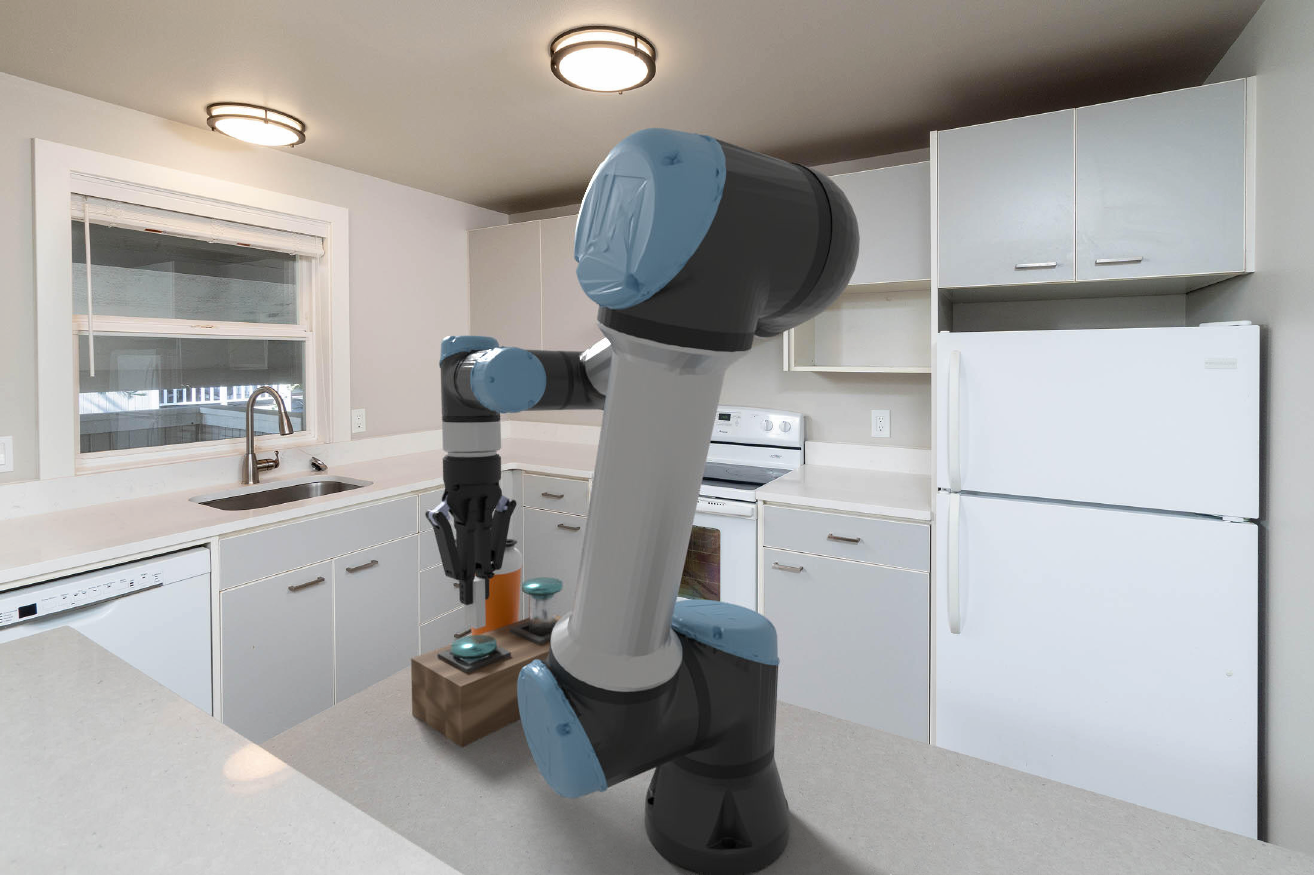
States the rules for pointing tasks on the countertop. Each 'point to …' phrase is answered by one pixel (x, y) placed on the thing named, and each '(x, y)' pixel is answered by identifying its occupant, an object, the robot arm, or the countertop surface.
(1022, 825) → the countertop surface
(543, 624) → the peg right
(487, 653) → the peg left
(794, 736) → the countertop surface
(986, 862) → the countertop surface
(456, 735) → the socket block
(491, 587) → the shaker bottle
